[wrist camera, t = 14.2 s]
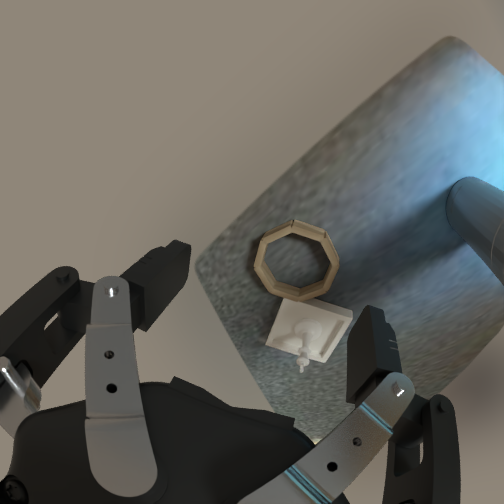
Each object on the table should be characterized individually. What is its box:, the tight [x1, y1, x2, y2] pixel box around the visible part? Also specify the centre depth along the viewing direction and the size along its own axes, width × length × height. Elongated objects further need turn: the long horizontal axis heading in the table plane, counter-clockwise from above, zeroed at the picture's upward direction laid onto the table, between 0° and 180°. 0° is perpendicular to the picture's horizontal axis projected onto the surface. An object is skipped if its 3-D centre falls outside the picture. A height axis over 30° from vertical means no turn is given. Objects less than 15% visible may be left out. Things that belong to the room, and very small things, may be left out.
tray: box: [265, 298, 353, 363], centre depth 46 cm, size 12×12×2 cm
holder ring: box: [253, 220, 339, 302], centre depth 41 cm, size 12×12×2 cm
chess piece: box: [294, 318, 322, 373], centre depth 42 cm, size 5×5×10 cm
